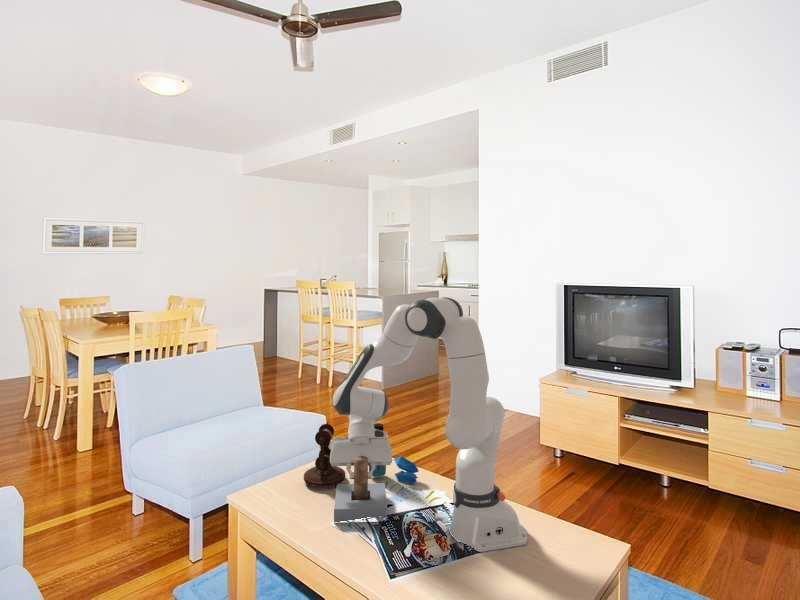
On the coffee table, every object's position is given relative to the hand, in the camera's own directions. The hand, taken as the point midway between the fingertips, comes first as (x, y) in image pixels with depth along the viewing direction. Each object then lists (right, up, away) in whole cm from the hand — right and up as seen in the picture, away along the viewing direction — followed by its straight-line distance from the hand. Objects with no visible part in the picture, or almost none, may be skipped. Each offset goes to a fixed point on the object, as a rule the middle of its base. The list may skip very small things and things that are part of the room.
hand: (361, 478), depth 150 cm
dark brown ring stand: (-15, -9, +20) cm, 27 cm away
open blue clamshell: (+14, -9, +22) cm, 27 cm away
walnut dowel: (0, -8, +1) cm, 8 cm away
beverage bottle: (+4, -9, +24) cm, 26 cm away
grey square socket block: (0, -10, +1) cm, 10 cm away
